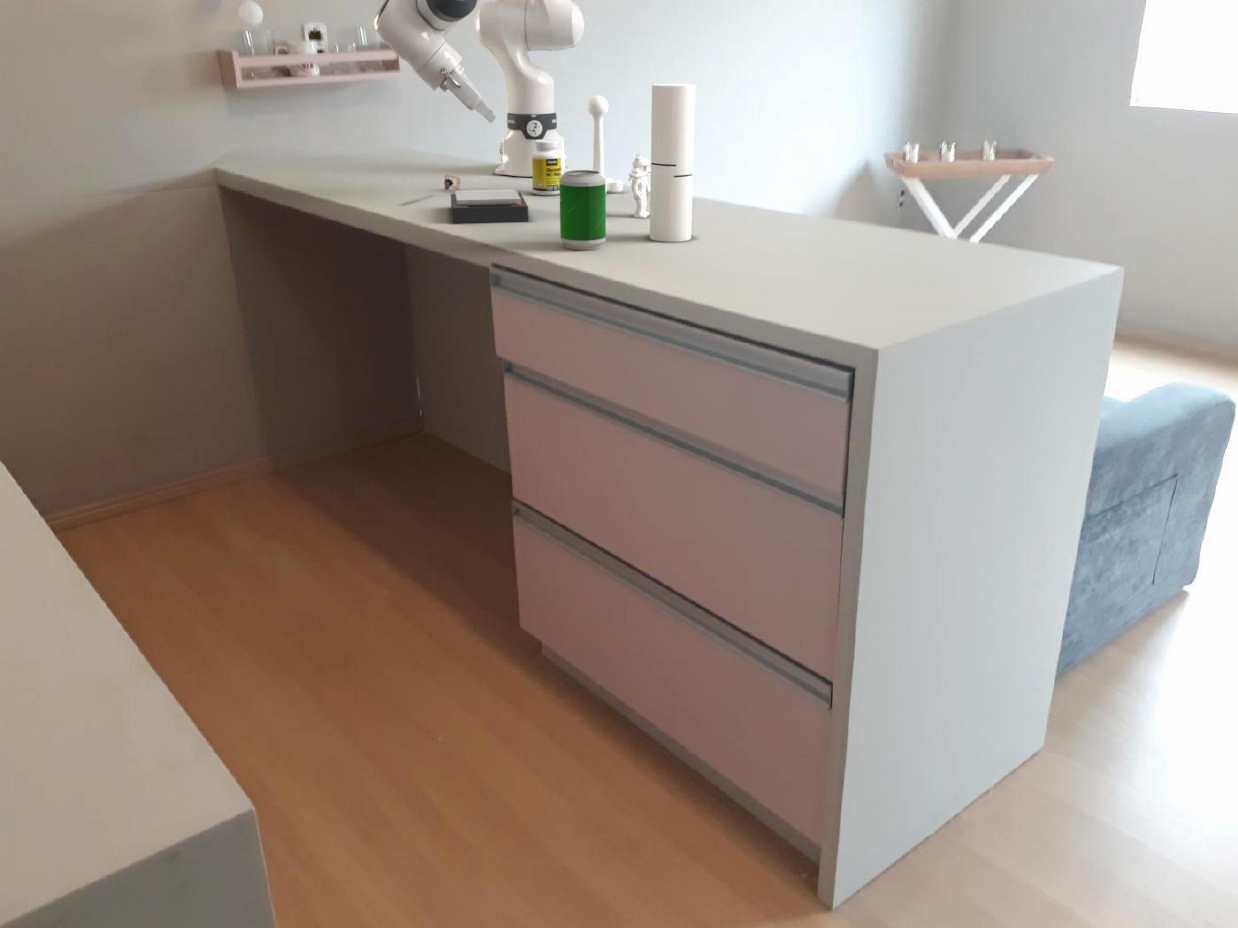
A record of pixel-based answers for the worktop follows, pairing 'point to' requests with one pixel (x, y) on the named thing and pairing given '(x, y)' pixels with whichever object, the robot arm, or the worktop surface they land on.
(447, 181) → the framed picture
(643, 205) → the hat wearing toy figure
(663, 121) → the cylindrical container
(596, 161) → the joystick
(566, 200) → the soda can
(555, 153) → the pill bottle
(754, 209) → the worktop surface
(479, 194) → the scale
